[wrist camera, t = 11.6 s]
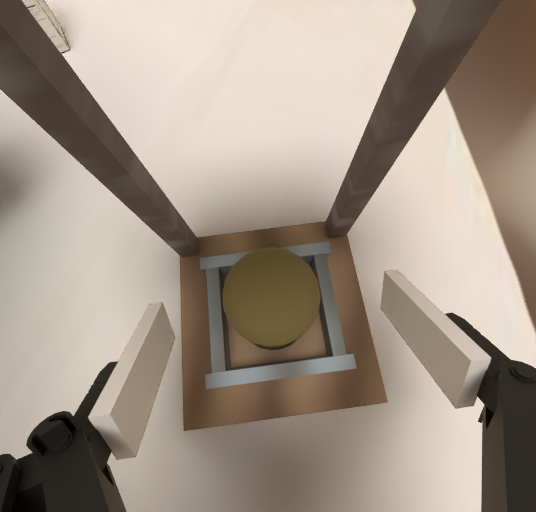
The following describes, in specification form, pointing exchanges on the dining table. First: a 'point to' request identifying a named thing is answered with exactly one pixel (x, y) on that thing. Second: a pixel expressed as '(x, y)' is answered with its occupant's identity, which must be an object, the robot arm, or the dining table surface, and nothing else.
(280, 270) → the cork
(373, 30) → the dining table surface
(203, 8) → the dining table surface
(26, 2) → the syrup box
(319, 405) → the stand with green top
